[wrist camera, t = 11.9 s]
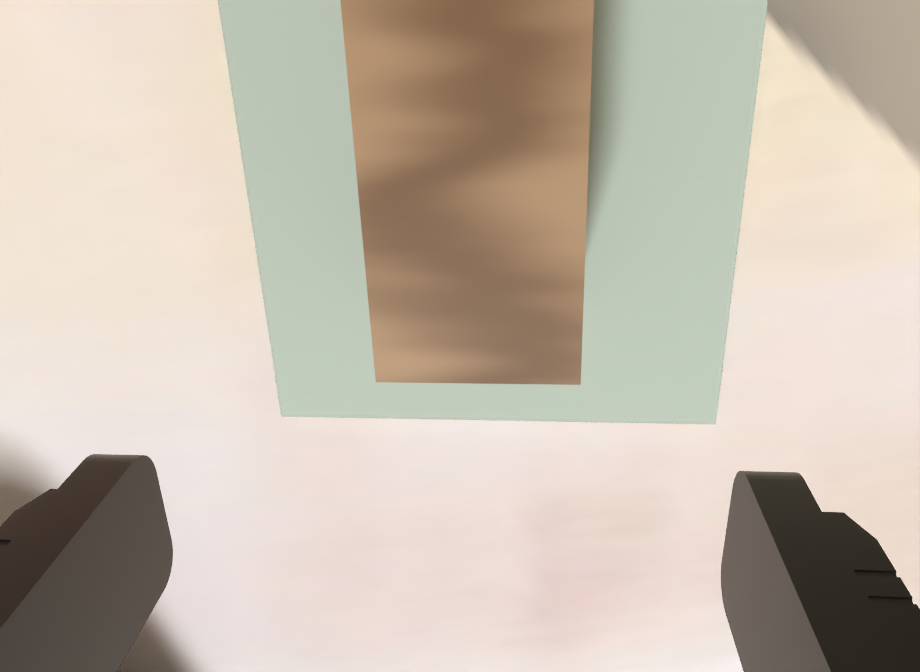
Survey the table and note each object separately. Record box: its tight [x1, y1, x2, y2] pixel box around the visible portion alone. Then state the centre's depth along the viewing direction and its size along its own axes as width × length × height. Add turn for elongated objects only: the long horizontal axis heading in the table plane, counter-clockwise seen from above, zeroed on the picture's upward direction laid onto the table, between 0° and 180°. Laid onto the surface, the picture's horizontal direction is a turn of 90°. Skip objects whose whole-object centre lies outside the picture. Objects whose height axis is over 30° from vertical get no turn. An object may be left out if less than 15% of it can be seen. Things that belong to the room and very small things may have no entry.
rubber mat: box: [218, 0, 768, 424], centre depth 21 cm, size 14×20×1 cm
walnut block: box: [340, 0, 594, 385], centre depth 19 cm, size 5×5×11 cm
